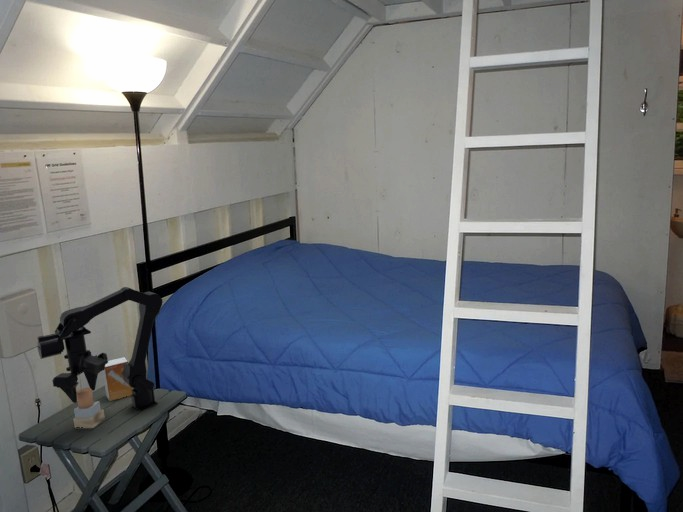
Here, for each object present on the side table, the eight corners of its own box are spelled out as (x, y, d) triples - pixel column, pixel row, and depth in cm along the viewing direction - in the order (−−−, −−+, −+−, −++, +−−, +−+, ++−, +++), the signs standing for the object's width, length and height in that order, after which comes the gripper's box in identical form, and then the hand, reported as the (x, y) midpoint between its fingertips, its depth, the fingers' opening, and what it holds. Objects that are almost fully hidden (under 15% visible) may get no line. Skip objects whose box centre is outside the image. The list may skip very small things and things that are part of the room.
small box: (109, 402, 194) (104, 367, 192) (106, 396, 199) (100, 362, 197) (133, 395, 198) (128, 360, 196) (129, 390, 204) (124, 356, 201)
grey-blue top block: (85, 410, 181) (83, 401, 180) (100, 409, 180) (99, 401, 179) (75, 418, 175) (73, 409, 175) (91, 417, 175) (90, 408, 174)
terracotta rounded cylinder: (90, 401, 180) (88, 386, 179) (96, 404, 177) (93, 390, 176) (76, 406, 177) (74, 391, 176) (81, 409, 174) (79, 395, 173)
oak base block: (87, 419, 182) (85, 409, 181) (105, 419, 181) (103, 409, 180) (74, 428, 176) (73, 418, 175) (93, 428, 174) (91, 418, 174)
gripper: (80, 360, 163) (88, 409, 166) (116, 339, 181) (123, 384, 184) (47, 360, 165) (56, 409, 168) (86, 340, 183) (93, 384, 186)
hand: (84, 396), depth 176 cm, fingers open, 9 cm apart
